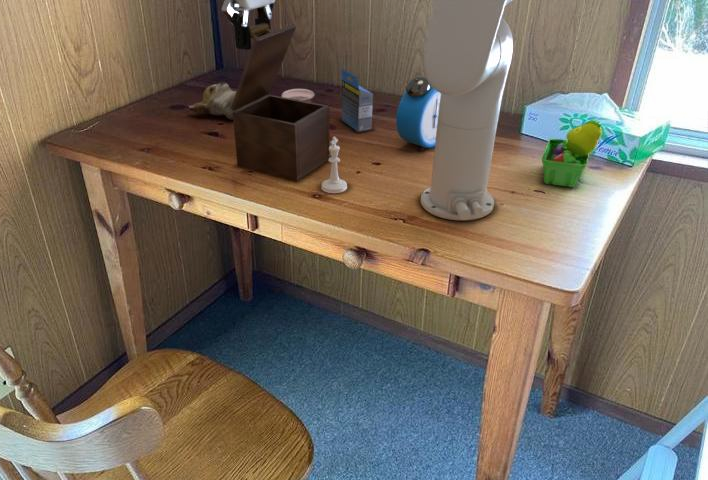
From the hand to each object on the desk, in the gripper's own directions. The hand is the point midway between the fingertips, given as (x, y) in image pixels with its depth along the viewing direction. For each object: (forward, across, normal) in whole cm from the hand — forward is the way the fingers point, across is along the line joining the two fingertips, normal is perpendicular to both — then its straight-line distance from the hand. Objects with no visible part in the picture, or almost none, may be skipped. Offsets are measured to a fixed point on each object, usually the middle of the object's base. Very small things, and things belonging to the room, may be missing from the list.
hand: (253, 43), depth 115 cm
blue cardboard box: (+23, +26, -8) cm, 36 cm away
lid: (+4, 0, -2) cm, 5 cm away
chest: (+23, 0, -5) cm, 24 cm away
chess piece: (+23, -5, -20) cm, 31 cm away
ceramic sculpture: (+23, +16, +24) cm, 37 cm away
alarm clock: (+24, +23, -26) cm, 42 cm away
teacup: (+23, +22, +6) cm, 33 cm away
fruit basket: (+24, +21, -56) cm, 64 cm away
